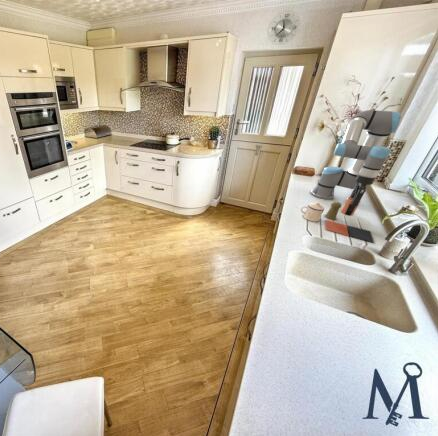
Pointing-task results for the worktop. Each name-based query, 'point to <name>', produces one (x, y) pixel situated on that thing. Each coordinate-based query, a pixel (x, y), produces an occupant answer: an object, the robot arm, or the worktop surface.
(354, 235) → the charcoal mat
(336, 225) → the terracotta mat
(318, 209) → the teacup with lid
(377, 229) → the worktop surface
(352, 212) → the copper-orange cylinder
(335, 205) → the olive rounded bottle shape
